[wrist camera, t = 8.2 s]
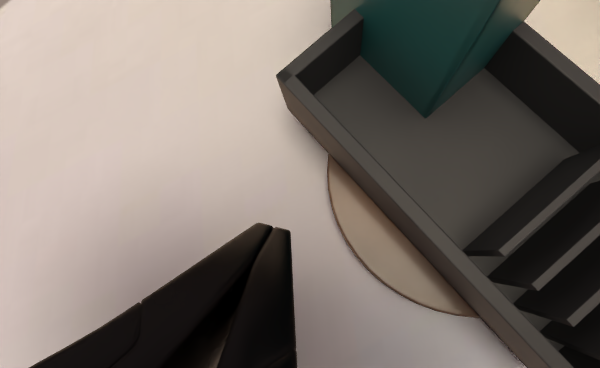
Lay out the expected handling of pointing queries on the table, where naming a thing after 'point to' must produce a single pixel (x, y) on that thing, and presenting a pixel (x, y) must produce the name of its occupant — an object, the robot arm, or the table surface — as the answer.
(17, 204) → the table surface
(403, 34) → the dish rack
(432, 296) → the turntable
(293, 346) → the robot arm
